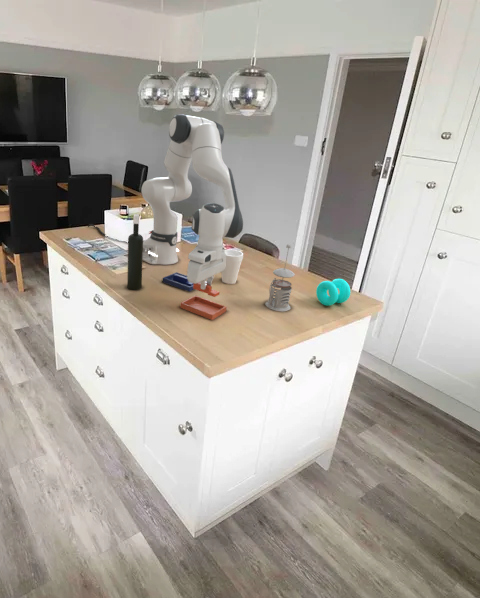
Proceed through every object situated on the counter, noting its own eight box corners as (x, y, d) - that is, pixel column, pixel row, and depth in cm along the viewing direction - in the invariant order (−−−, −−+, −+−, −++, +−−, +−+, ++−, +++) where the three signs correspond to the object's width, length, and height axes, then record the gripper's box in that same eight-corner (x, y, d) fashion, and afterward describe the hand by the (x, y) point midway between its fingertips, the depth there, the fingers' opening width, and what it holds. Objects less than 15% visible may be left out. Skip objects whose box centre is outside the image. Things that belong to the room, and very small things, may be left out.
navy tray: (162, 282, 177) (162, 277, 176) (176, 276, 184) (176, 272, 183) (189, 291, 169) (189, 287, 169) (202, 285, 177) (203, 281, 176)
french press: (295, 306, 163) (307, 245, 153) (278, 314, 156) (290, 251, 145) (274, 298, 169) (285, 239, 159) (257, 305, 162) (267, 243, 151)
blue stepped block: (171, 280, 178) (172, 275, 177) (176, 278, 180) (176, 273, 179) (191, 287, 173) (191, 281, 172) (195, 285, 175) (195, 279, 174)
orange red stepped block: (191, 289, 154) (192, 282, 153) (196, 286, 156) (197, 280, 155) (214, 297, 148) (215, 290, 147) (219, 294, 151) (220, 288, 150)
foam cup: (238, 286, 178) (242, 257, 173) (217, 283, 180) (220, 254, 174) (240, 278, 187) (244, 251, 181) (219, 275, 188) (222, 248, 183)
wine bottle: (131, 291, 166) (133, 216, 153) (124, 286, 170) (126, 213, 158) (144, 288, 169) (146, 215, 157) (137, 283, 173) (139, 212, 161)
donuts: (348, 306, 167) (354, 283, 163) (331, 310, 163) (337, 286, 159) (329, 296, 175) (334, 274, 171) (312, 300, 170) (317, 277, 166)
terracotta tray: (180, 307, 155) (180, 302, 155) (194, 299, 163) (195, 295, 162) (212, 320, 148) (212, 315, 147) (226, 311, 155) (226, 306, 154)
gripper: (217, 243, 155) (213, 278, 161) (185, 255, 140) (182, 293, 146) (232, 247, 152) (227, 282, 158) (200, 260, 137) (197, 298, 142)
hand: (205, 287), depth 152 cm, fingers closed on orange red stepped block
